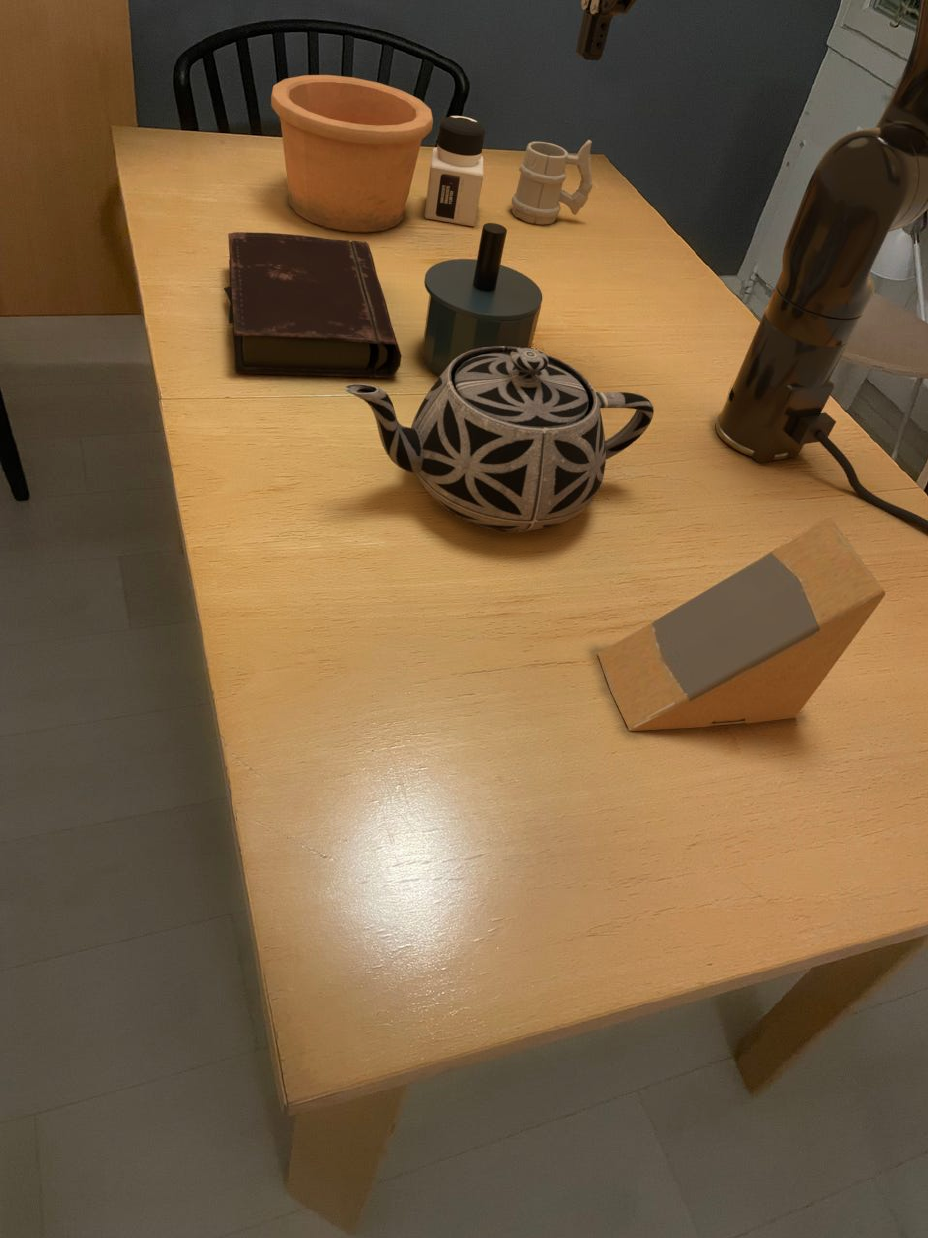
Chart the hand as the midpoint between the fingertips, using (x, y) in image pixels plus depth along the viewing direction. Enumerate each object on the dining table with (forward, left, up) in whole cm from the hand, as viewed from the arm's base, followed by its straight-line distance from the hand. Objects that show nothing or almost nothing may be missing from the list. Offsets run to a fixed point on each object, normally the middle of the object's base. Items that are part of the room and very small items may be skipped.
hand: (587, 56), depth 88 cm
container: (+38, -6, -31) cm, 49 cm away
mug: (+36, -22, -31) cm, 52 cm away
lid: (-3, +9, -23) cm, 24 cm away
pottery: (+40, +10, -31) cm, 51 cm away
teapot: (-26, +18, -31) cm, 45 cm away
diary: (+8, +26, -31) cm, 41 cm away
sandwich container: (-54, +12, -31) cm, 64 cm away
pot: (-3, +9, -31) cm, 33 cm away
